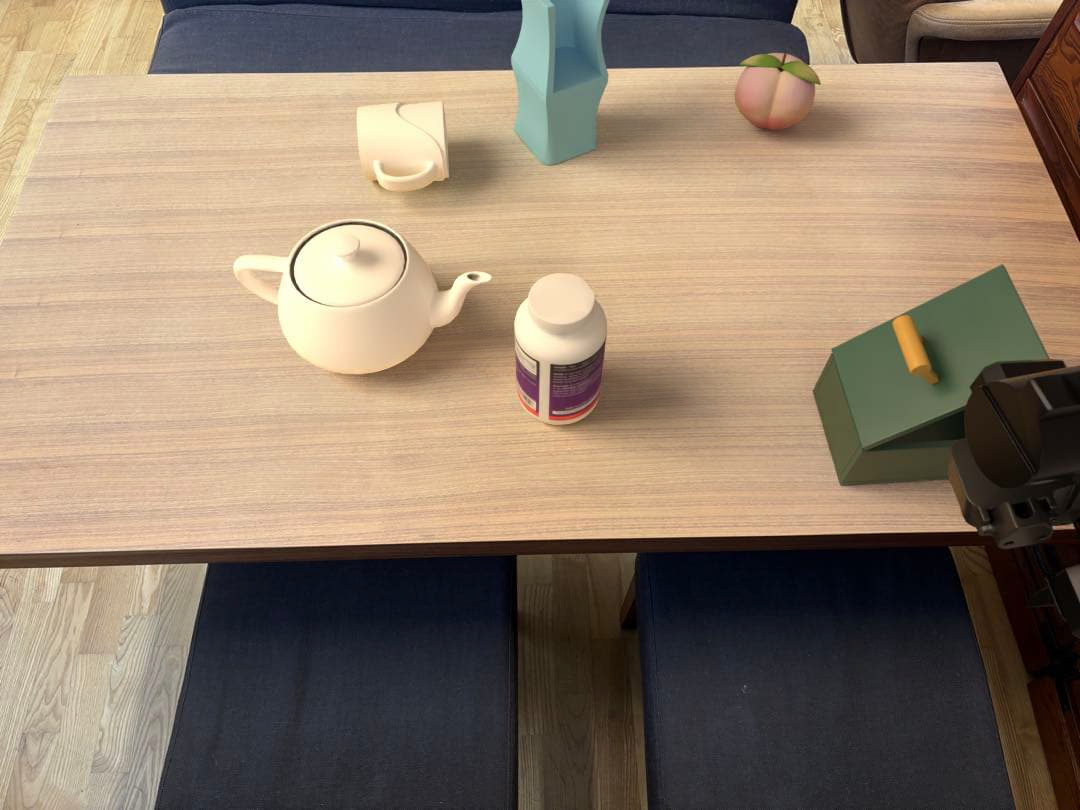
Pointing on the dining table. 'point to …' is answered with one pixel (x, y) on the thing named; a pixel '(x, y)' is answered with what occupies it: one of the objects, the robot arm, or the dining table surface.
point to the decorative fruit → (775, 90)
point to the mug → (403, 144)
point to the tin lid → (933, 356)
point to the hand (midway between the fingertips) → (1008, 543)
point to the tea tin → (892, 460)
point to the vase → (559, 77)
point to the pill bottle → (559, 349)
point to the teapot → (356, 296)
